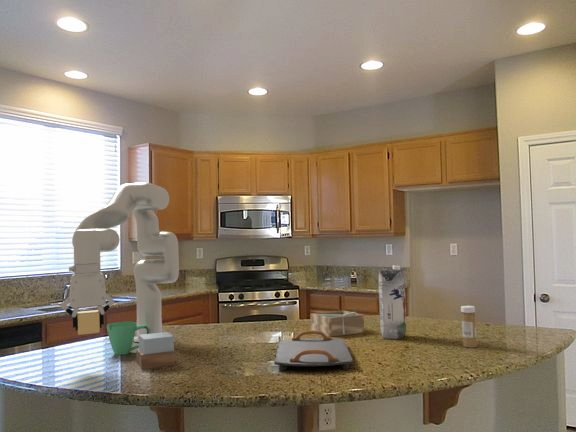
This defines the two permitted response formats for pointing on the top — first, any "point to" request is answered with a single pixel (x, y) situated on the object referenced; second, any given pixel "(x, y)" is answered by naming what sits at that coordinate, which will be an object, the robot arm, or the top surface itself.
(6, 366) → the top surface
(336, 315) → the right angle wall
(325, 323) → the coaster caddy
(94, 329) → the ochre cube
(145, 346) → the slate block
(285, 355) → the serving board
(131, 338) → the mug
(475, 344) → the sprinkles bottle
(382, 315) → the juice carton
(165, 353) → the walnut block
